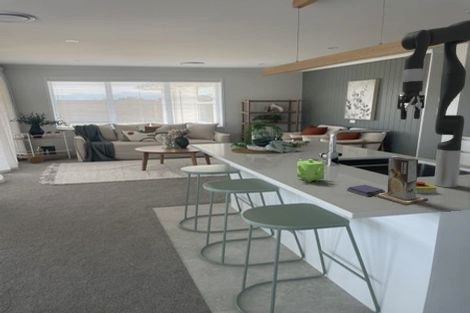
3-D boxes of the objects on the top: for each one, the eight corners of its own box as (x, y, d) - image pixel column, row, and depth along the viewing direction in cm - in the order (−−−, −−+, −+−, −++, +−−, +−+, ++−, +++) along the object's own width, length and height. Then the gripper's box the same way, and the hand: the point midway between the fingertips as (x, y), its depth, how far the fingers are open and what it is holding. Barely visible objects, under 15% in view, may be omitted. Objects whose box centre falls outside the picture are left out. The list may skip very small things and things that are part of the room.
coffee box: (416, 198, 127) (419, 159, 124) (406, 200, 124) (409, 160, 121) (396, 193, 135) (398, 156, 132) (386, 195, 132) (388, 157, 129)
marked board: (396, 191, 138) (397, 190, 138) (427, 200, 126) (428, 198, 126) (374, 196, 133) (374, 194, 132) (404, 205, 120) (404, 203, 120)
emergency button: (419, 186, 133) (399, 178, 147) (418, 196, 133) (398, 187, 148) (440, 185, 133) (418, 178, 148) (439, 195, 134) (417, 187, 148)
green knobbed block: (298, 176, 173) (298, 156, 171) (324, 178, 168) (325, 157, 167) (294, 182, 159) (294, 160, 157) (323, 184, 154) (323, 162, 153)
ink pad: (364, 187, 146) (364, 184, 146) (384, 193, 137) (385, 189, 136) (347, 190, 142) (347, 187, 142) (366, 196, 132) (366, 192, 132)
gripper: (415, 81, 138) (412, 118, 141) (393, 81, 132) (391, 119, 135) (432, 80, 132) (429, 119, 134) (409, 79, 126) (407, 119, 128)
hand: (410, 119), depth 134 cm, fingers open, 8 cm apart
